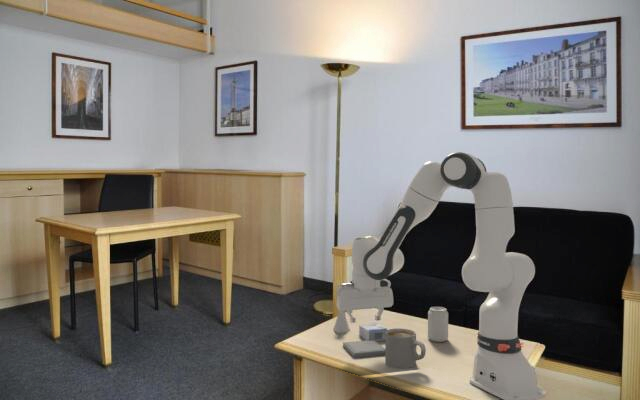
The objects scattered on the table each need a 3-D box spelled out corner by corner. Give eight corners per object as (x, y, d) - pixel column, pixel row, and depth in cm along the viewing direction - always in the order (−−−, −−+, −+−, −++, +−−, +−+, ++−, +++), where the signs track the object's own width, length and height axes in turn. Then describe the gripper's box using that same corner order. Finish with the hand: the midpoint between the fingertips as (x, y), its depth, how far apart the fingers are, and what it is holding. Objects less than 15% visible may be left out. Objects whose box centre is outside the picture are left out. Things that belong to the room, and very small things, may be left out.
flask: (349, 335, 195) (349, 309, 195) (331, 334, 197) (331, 309, 196) (351, 330, 202) (351, 305, 202) (334, 329, 204) (334, 304, 203)
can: (446, 336, 193) (446, 306, 193) (449, 343, 186) (449, 311, 185) (426, 336, 194) (426, 305, 194) (428, 342, 187) (429, 310, 186)
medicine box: (368, 331, 186) (358, 324, 194) (368, 342, 186) (358, 336, 194) (387, 328, 189) (377, 322, 197) (387, 340, 189) (377, 333, 197)
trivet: (387, 354, 174) (387, 350, 173) (354, 357, 170) (354, 353, 170) (374, 343, 185) (374, 339, 185) (343, 346, 182) (343, 342, 182)
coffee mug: (379, 362, 166) (379, 332, 165) (397, 355, 173) (397, 326, 172) (413, 373, 156) (413, 341, 156) (430, 365, 163) (431, 334, 163)
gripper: (339, 285, 171) (340, 326, 171) (394, 281, 176) (395, 320, 176) (333, 282, 177) (334, 321, 177) (387, 278, 182) (388, 316, 183)
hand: (365, 321), depth 177 cm, fingers open, 8 cm apart
